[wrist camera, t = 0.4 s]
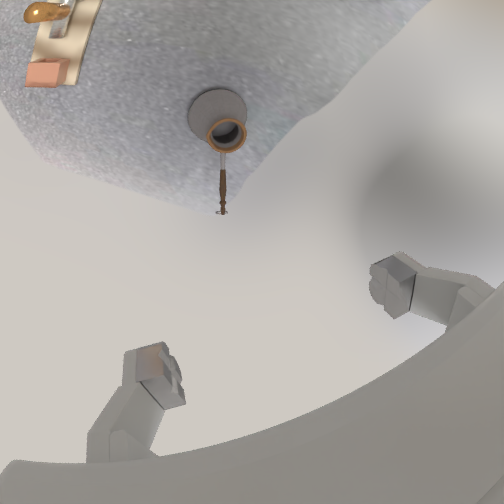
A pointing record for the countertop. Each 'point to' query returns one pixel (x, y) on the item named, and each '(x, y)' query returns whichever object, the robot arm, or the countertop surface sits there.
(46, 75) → the socket
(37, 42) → the board
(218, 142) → the coffee pot
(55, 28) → the tube
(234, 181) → the countertop surface
